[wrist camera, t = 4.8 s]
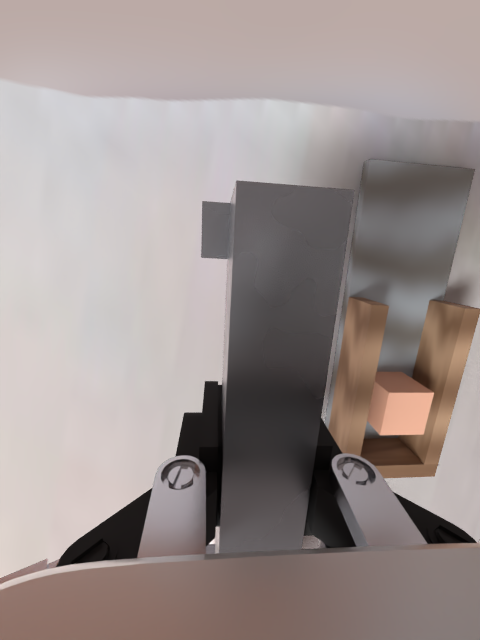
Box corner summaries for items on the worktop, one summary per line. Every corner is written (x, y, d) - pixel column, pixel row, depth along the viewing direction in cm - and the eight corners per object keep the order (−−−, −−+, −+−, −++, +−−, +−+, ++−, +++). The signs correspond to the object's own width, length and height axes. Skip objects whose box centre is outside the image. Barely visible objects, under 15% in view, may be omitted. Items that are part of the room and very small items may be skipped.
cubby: (363, 162, 24) (401, 141, 20) (465, 172, 26) (523, 154, 21) (321, 444, 32) (341, 479, 27) (401, 442, 33) (434, 476, 28)
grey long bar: (193, 219, 13) (157, 173, 5) (302, 226, 14) (423, 195, 6) (189, 558, 19) (168, 793, 11) (267, 554, 19) (303, 776, 11)
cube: (362, 371, 29) (388, 392, 24) (401, 371, 29) (434, 392, 25) (356, 408, 30) (380, 435, 26) (393, 408, 30) (423, 434, 26)
